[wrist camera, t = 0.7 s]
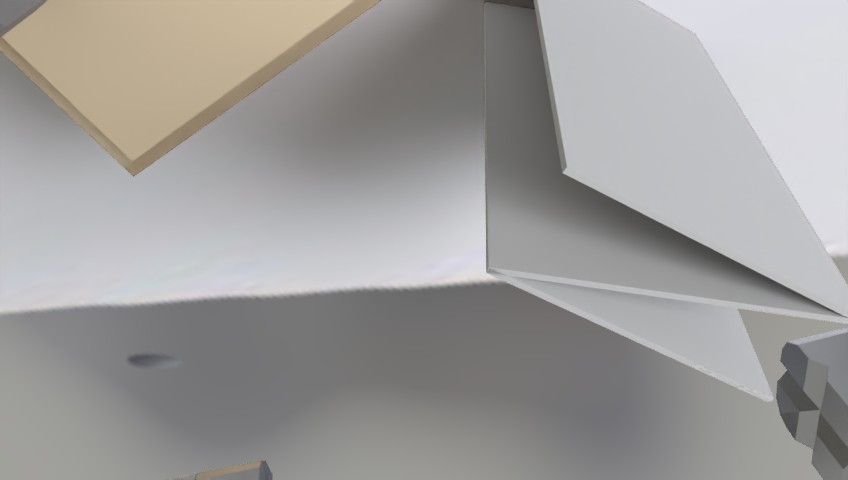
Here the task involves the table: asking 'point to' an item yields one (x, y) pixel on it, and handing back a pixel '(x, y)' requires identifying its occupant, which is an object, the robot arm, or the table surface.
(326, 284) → the table surface
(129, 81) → the lid
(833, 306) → the brochure
